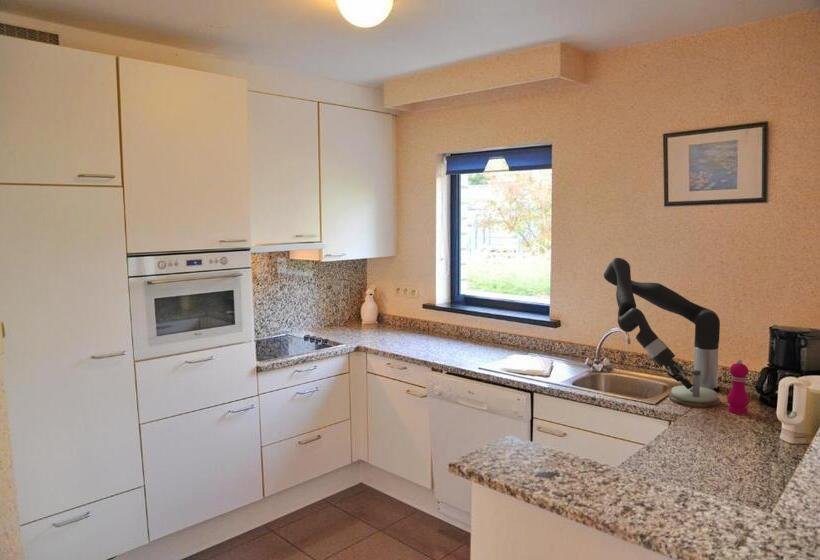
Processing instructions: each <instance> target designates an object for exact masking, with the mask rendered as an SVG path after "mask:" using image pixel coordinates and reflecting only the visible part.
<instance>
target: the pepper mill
mask: <svg viewBox="0 0 820 560" xmlns="http://www.w3.org/2000/svg"><path fill="white" fill-rule="evenodd" d="M729 371H730V372H729V373H730V374H731V376H730V379H731V381H732V386H731V388H730V390H729V392H728V394H727V397H726V399H727V403H728V404H729V405H727V406H728V407H727V410H728V412H729V413H731V414H735V415H746V414H747V413H748V405H749V404H750V397H749V395H748V393H747V390H746V388H745V387H746V382H747V376H748V374H749V368H748V366H747V365H746V364H744V363H743V360H742V359H737V360H736V363H733V364H731V366H730V368H729Z"/></svg>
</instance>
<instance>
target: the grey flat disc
mask: <svg viewBox="0 0 820 560" xmlns="http://www.w3.org/2000/svg"><path fill="white" fill-rule="evenodd" d="M668 395H669V396H668V399H669V401H671V402H672V403H673V404H676V405H680V406H683V407H684V406H685V407H688V408H690V407H691V408H698V409H706V408H707V409H708V408H710V409H711V408H717V407H718V406H719V405H720V398H719V397H718V396H717V400H716V401H714V402H708V403H697V402H689V401H684V400H680V399H677V398H675V397H673V396H672V391H671V392H669V394H668Z"/></svg>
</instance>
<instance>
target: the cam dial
mask: <svg viewBox="0 0 820 560" xmlns="http://www.w3.org/2000/svg"><path fill="white" fill-rule="evenodd" d="M700 374H701V371H698V370H694V369H693V370H692V385H693V387H692V388H690V389H687V388H686V387H685V386H684V385H677V386H673V387H672V388H671V392H672V396H673V397H675V398H677V399H680V400H684V401H689V402H697V403H708V402H714V401H716V400H717V397H718V392H717V391H715V389H708V388H704V387H700Z"/></svg>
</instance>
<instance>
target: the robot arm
mask: <svg viewBox="0 0 820 560" xmlns="http://www.w3.org/2000/svg"><path fill="white" fill-rule="evenodd" d="M631 275H632V274H631V265H630V263H629V262H628V261H627V260H626V259H624V258H621V257H614V258H613V259H611V260H610V262H609V263H608V265H607V267H606V269H605V270H604V272H603V278H604V280H605V281H606V282H607V283H609V284H611V285H613V286H615V287H616V290H615V291H616V295H615V296H616V302H617V306H618V310H617V311H618V312H617V324H618V327H619V328H620V329H621V330H622V331H623V332H624V333H631V332H633V331H635V329H636V328H639V331H638V333H637V334H636V336H635V338H636V341H637V342H638V343H639V345H640V346H641V347H642V348H643V349H644V350H645V351H646V353H647V355H648V356H649V357H650V358H651V359H652V360H653V361H654V362H655V364H656V365H657V366H658V367H660V368H661V367H663V366H664V368H665V369H666V371H667V375H668V376H669V377H671V378H673V380H675V381H676V382H677V383H679V382H680V383H682V386H685V387H686V388H687V389H690V388H692V387H693V383H691V381H690V380H689V379H688V377H687V372H685V369H684V367H683V366H682V364H680V363H678V362H677V361H675V360H674V358H675V357H676V355H675V354H674V352H673V351H672V350H671V349H670V348H669V347H668V346H667V344H665V342H664V341H663V340H662V339H660V338H659V336H658V335H657V334H656V333H655V332H654V331H653V330H652V328H651V326H650V324H649V322H648V321H647V318H646V316H645V314H644V313H643V312H642V310H641V309H638V308H637V303H636V300H635V296H637V297H640V298H642V299H643V300H645V301H647V302H648V303H650V304H652V305H654V306H656V307H658V308H659V309H662V310H663V311H667V312H670V313H673V314H676V315H678V316H681V317H683V318H685V319H686V320H688V321H690V322H691V323H693V324H694V325H695V326H694V327H695V328H694V343H693V344H694V345H693V348H694V349H693V350H694V351H693V353H694V354H693V370H698V371H701V374H700V387H704V388H708V389H711V390H715V389H714V388H716V389H718V375H719V374H718V373H719V372H718V371H719V370H718V369H719V348H720V346H719V344H720V334H721V333H720V330H721V321H720V318H719V316H718V314H717V313H716V312H715V311H713V310H712V309H709V308H706V307H704V306H701V305H698V304H696V303H694V302H692V301H690V300H688V299H687V298H686V297H684V296H682V295H680V293H678V292H676V291H674V290H673V289H670V288H668V287H667V286H665V285H663V284H661V283H658V282H639V281H635V280H633V279H632V277H631ZM634 295H635V296H634Z"/></svg>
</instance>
